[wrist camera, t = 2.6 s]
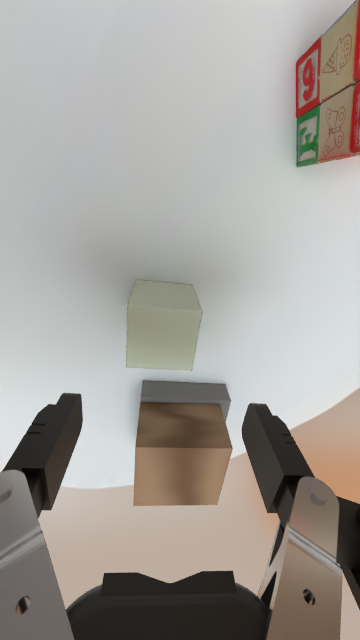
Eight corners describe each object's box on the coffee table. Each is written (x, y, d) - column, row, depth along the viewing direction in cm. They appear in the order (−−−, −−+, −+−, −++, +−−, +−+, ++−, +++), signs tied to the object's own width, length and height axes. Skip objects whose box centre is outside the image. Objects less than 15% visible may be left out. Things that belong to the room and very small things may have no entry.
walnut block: (138, 456, 28) (133, 505, 23) (140, 401, 24) (135, 447, 20) (208, 457, 29) (217, 504, 24) (220, 404, 25) (232, 448, 21)
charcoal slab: (139, 436, 31) (137, 458, 28) (143, 377, 27) (141, 397, 24) (210, 437, 32) (215, 460, 29) (224, 381, 28) (230, 400, 25)
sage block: (133, 329, 24) (125, 367, 18) (135, 279, 22) (127, 304, 16) (185, 333, 24) (192, 370, 19) (192, 284, 22) (202, 310, 17)
